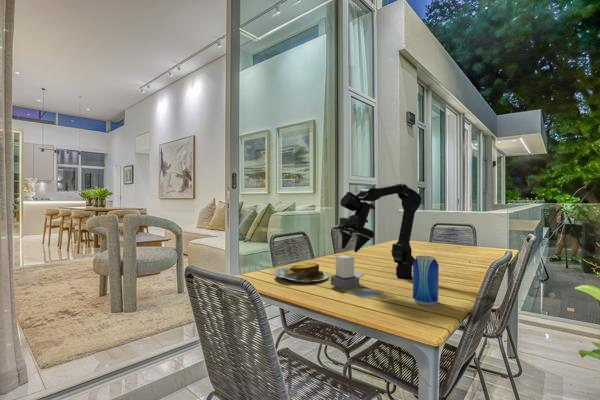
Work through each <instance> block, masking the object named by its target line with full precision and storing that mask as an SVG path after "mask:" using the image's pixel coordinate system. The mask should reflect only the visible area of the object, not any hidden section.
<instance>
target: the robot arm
mask: <svg viewBox="0 0 600 400" xmlns="http://www.w3.org/2000/svg"><path fill="white" fill-rule="evenodd" d="M395 194H397V198H399V199H400V200H401V207H402V209H403V212H402V213H403V214H402V219H401V223H400V224H401V225H400V229H399V236H398V240H397V242H396V243H392V245H391V247H392V248H391V251H390V252H391V257H392V259H393V263H395V264H396V266H395V276H396V277H397V279H406V280H413V262H414V261H415V259H416V258H415V257H414V256H413V255H412V252H413V251H412V250H413V249H412V247H411V244H410V243H411V242H410V241H411V236H412V231H413V224H414V219H415V213H416V212H417V211H418V209H419V208H420V206H421V203H422V196H421V194H420V193H418V192H417V191H415V190H414V189H412V188H410V187H409V186H408V185H406V183H396V184H393V185H389V186H388V185H386V186H383V187H378V188H377V187H363V188H361V189H360V190H359V192H358V193H357V194H354V193H353V192H350V191H347V192H346V194H345V195H344V196H343V197H342V198H341V199H340V202H339V203H340V206H341V207H343V208H344V209H347V210H349V211H351V212H354V214H351V215H348V217H339V225H338V227H337V230H338V232H339V233H340V235H341V249H345V248H346V247H347V245H348V243H349V242H350V241H351V239H352V237H353V234H355V235H356V237H357V238H356V242H355V246H354V249H353V251H354V253H358V251H359V250H361V248H363V246H365V244H367V243H368V242H370V241H371V240H372V239H374V238H375V232H374V231H373V230H371V229H369V228H367V227H365V226H366V223H367V224H368V223H369V219H368V217H369V214H370V213H371V212H370V211H371V210H376V208H375V206H374V203H372V202H375V201H377V200H378V201H379V199H381V198H383V197H386V196H390V195H395ZM368 202H371V203H368Z"/></svg>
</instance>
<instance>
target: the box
mask: <svg viewBox="0 0 600 400" xmlns="http://www.w3.org/2000/svg"><path fill="white" fill-rule="evenodd" d="M354 270H355V257H354V256H351V255H347V254H345V255H336V256H335V275H336V278H339V279H341V280H347V279H354Z"/></svg>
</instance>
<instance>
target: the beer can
mask: <svg viewBox="0 0 600 400" xmlns="http://www.w3.org/2000/svg"><path fill="white" fill-rule="evenodd" d="M414 259H415V261H414V262H413V266H412V299H413V300H414V302H415V303H416V304H418V305H421V306H435V305H437V303H438V302H439V269H440V267H439V266H440V264H439V263H438V262H437V260H436V259H437V258H436V257H435V256H431V255H416V256H415V258H414Z"/></svg>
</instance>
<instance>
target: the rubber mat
mask: <svg viewBox="0 0 600 400" xmlns="http://www.w3.org/2000/svg"><path fill="white" fill-rule="evenodd" d="M347 292H349V293H350V294H352V295H355V296H357V297H359V298H361V299H369V298H374V297H379V296H385V294H384V293H382V292H379V291H377V290H374V289H372V288H370V287H363V288H357V289H352V290H350V289H349V290H347Z"/></svg>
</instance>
